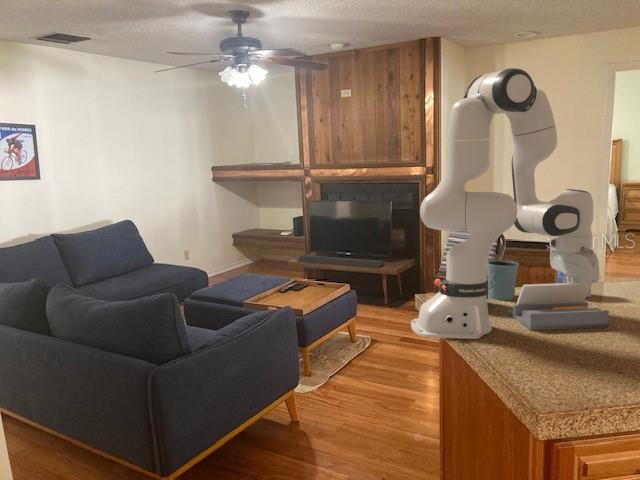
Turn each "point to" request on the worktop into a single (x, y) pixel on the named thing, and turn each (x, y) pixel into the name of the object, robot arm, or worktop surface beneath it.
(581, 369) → the worktop surface
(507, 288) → the teal cup
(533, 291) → the cover
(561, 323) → the grooved grey base
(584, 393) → the worktop surface
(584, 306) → the orange capsule pill
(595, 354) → the worktop surface
